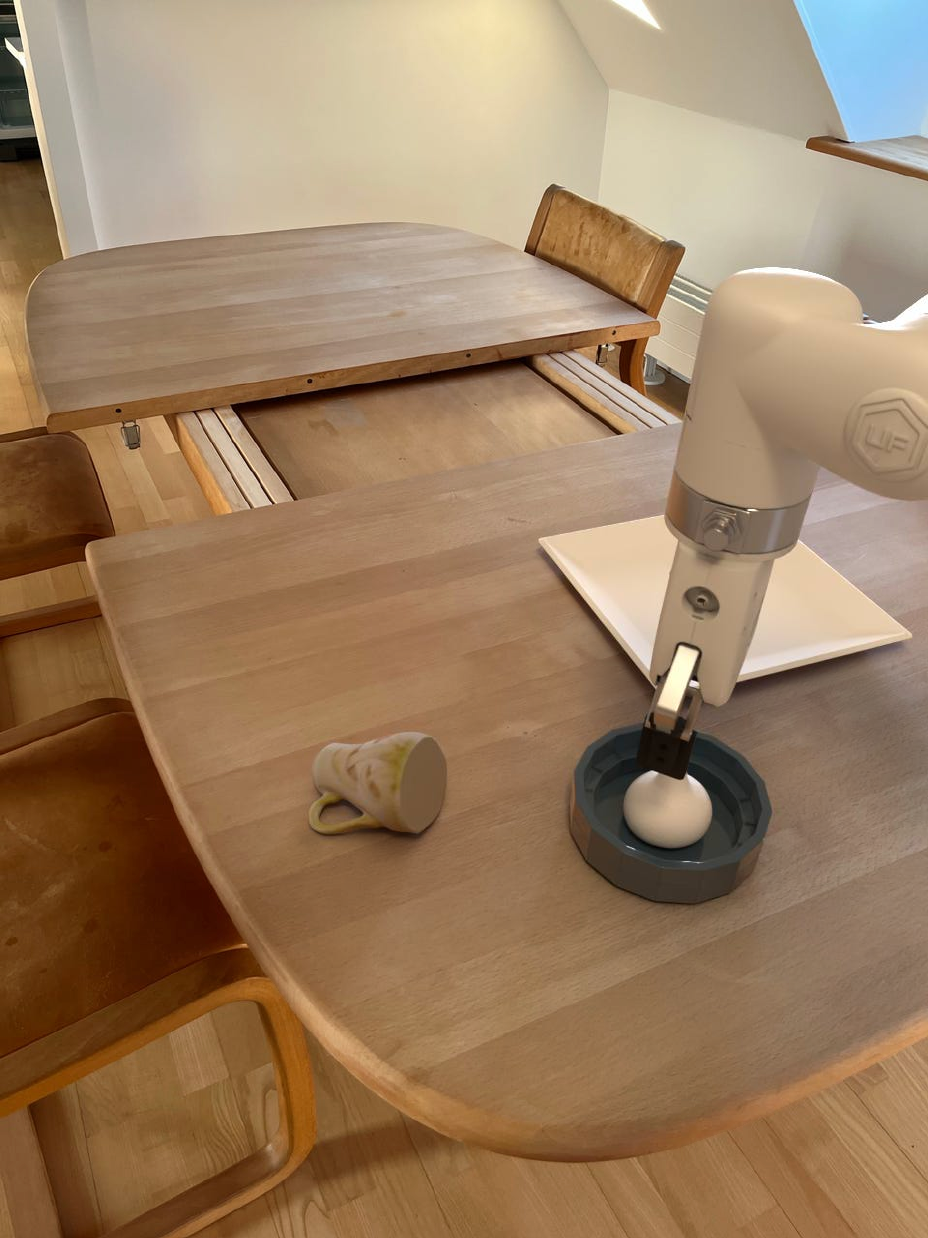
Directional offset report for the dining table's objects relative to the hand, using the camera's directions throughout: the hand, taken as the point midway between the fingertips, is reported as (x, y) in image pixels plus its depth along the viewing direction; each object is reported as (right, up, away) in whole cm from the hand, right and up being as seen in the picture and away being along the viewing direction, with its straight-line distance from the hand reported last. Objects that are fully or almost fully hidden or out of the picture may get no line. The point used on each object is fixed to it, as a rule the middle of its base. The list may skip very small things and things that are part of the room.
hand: (680, 722), depth 63 cm
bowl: (0, -8, +6) cm, 10 cm away
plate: (+10, +9, +29) cm, 32 cm away
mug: (-21, -7, +7) cm, 24 cm away
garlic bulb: (0, -8, +6) cm, 10 cm away
